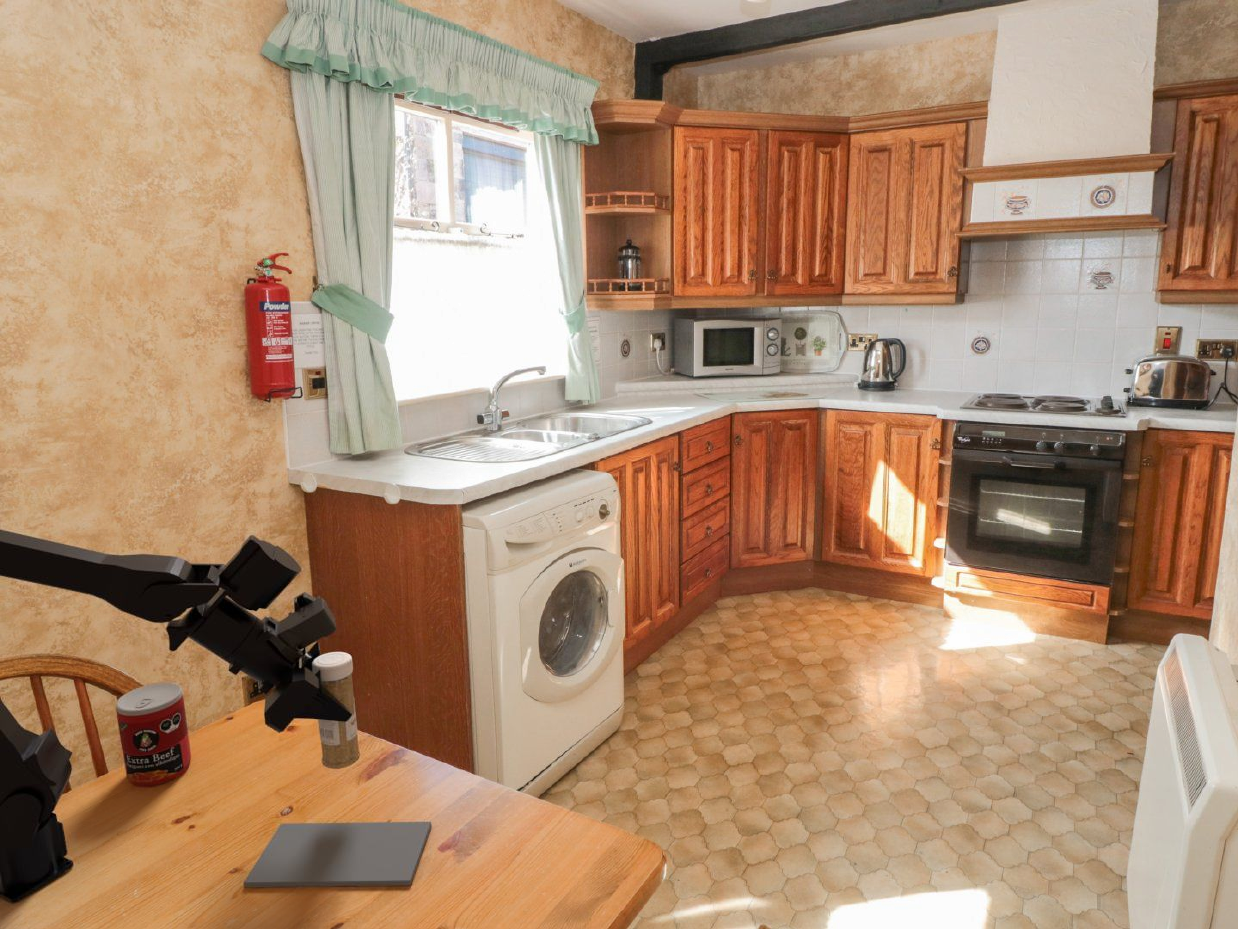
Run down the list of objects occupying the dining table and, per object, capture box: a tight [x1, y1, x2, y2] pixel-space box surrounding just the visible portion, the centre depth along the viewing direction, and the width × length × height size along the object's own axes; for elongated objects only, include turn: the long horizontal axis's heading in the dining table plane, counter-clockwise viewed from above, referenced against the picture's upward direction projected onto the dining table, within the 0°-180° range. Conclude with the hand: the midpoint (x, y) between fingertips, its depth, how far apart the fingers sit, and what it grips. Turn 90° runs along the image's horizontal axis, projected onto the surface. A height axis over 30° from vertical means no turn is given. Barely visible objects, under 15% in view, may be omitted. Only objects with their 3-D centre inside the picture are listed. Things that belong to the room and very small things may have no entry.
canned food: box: [115, 682, 192, 788], centre depth 110 cm, size 8×8×11 cm
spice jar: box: [312, 651, 361, 770], centre depth 100 cm, size 5×5×13 cm
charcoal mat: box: [243, 821, 432, 888], centre depth 94 cm, size 18×10×1 cm, turn 90°
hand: (348, 709), depth 100 cm, fingers closed on spice jar, 4 cm apart
